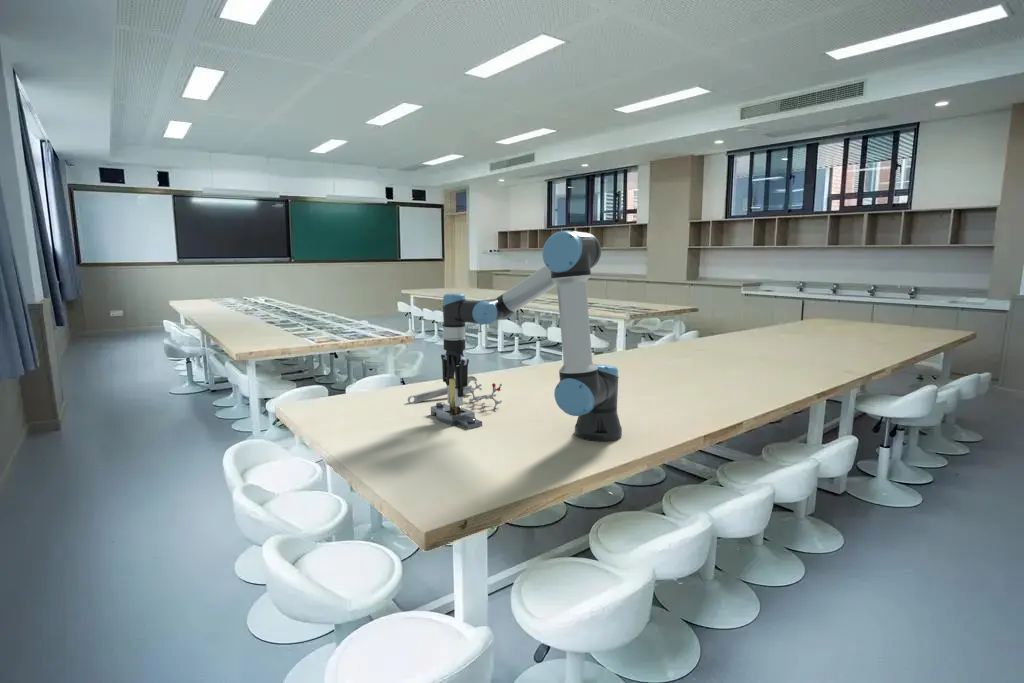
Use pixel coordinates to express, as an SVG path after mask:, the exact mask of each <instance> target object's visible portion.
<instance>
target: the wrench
mask: <svg viewBox="0 0 1024 683" xmlns="http://www.w3.org/2000/svg"><path fill="white" fill-rule="evenodd" d="M472 381H474V382H475V381H476V382H478V379H477V377H475V376H473V375H470V374H468V381H467V386H469V385H470V383H471V382H472ZM474 388H475V387H471V388H470V389H471V390H473V389H474ZM465 389H466V387H464V388H463V390H465ZM468 391H469V390H466V391H465V393H463V397H464V396H465V397H467V395H469V393H468ZM442 396H447V386H444V387H441V388H437V389H433V390H427V391H425V392H420V393H416V394H412V395H410V396H408V397H407V401H408V403H409V404H416V403H420V402H424V401H428V400H431V399H432V400H433V399H437V398H439V397H442ZM412 398H414V399H413V401H410V400H411V399H412Z"/></svg>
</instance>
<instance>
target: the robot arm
mask: <svg viewBox="0 0 1024 683" xmlns="http://www.w3.org/2000/svg"><path fill="white" fill-rule="evenodd" d="M601 256H602V247H601V244H600V242H599V240H598V238H597V237H596V236H594V235H593V234H592V233H589V232H588V231H587V232H586V231H576V230H562V231H556V232H554V233H553V234H552V235H550V236H549V237H548V238H547V240H546V241H545V243H544V245H543V247H542V259H543V260H542V261H543V263H544V265H543V266H542V267H540V268H539V269H538V270H536V271H535V272H533V273H532V274H530V275H528V276H526V278H524V279H523V280H522V281H520V282H519V283H517V284H515V285H513V286H512V287H511V288H509V289H508V290H506V291H505V292H503V293H502V294H501V295H500V294H499V296H497V297H496V298H491V299H490V298H489V299H484V300H482V299H481V300H467V299H466V295H465V294H464V293H460V292H459V293H457V292H456V293H455V292H453V293H452V292H451V293H446V294H444V295H443V298H442V316H443V318H442V319H443V326H442V327H443V328H442V329H443V330H442V333H443V334H442V336H443V338H444V339H443V350H444V351H445V353H444V354H441V355H440V357H441V362H442V363H441V365H442V368H441V369H442V370H441V371H442V382H443V383H445V384H446V387H447V395H446V396H447V405H449V378H453V377H455V378H456V386H457V387H455V406H456V407H457V406H461V407H462V406H463V405H464V401H463V400H464V396H463V388H464V387H466V386H467V381H468V375H469V373H468V370H469V369H468V368H469V367H468V366H469V362H470V360H469V358H465V357H464V351H465V350H466V339H465V338H466V324H467V323H468V324H477V325H482V326H483V325H491V324H493V323H494V322H495V321H503V320H504V321H505V320H508V319H510V318H511V317H513V316H514V315H515V313H516V311H518V310H520V309H521V308H523V307H524V306H526V305H528V304H530V303H531V302H532V301H535V300H536V299H537V298H539V297H541V296H542V295H544V294H546V293H547V292H549V291H551V290H552V289H553V288H555V287H557V288H556V289H557V299H558V302H557V303H558V313H559V323H560V324H559V325H560V337H561V338H560V339H561V347H562V348H561V349H562V362H563V365H562V366H561V368H559V370H558V374H559V381H558V383H557V385H556V386H555V388H554V400H555V402H556V403H555V404H556V405H557V406H558V407H559V409H560V410H561V411H563V413H565V414H567V415H569V416H572V417H577V420H576V423H575V425H574V435H575V436H577V437H578V438H580V439H581V440H582V439H583V440H587V441H593V442H611V441H612V442H613V441H615V440H619V439H621V437H622V435H623V434H622V433H623V427H622V425H621V422H620V418H619V415H618V398H619V397H618V394H619V393H618V392H619V377H620V376H619V370H618V367H616V366H614V365H609V364H602V363H594V362H593V354H592V352H593V351H592V340H591V328H590V326H591V325H590V314H589V303H588V302H589V301H588V300H589V299H588V289H587V286H588V285H587V281H588V280H589V279H590V277H591V276H592V274H591V273H592V272H591V269H592V268H594V267H595V266H596V265H597V264H598V262H599V261H600V259H601Z"/></svg>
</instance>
